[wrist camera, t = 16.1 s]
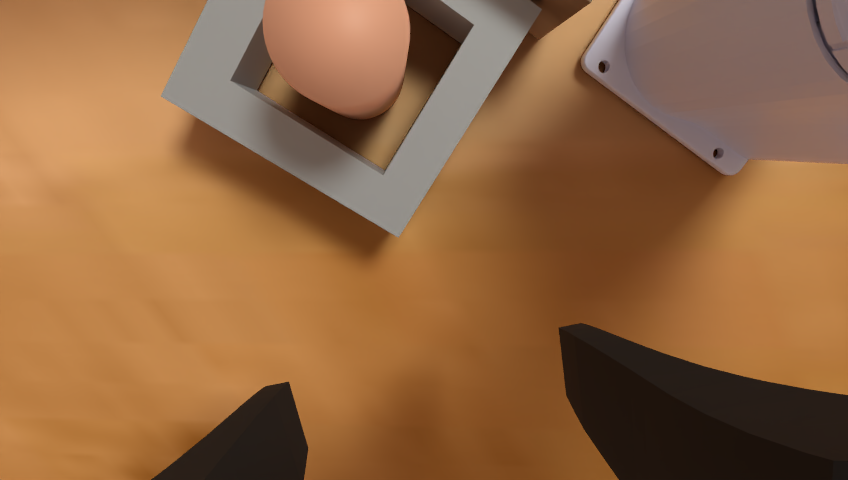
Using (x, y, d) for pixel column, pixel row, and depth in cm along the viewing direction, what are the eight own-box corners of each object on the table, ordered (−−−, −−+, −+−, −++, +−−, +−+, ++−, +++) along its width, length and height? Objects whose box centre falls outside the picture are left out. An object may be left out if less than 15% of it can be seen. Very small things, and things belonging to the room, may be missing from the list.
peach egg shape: (415, 103, 19) (428, 80, 12) (331, 131, 19) (295, 124, 12) (386, 9, 18) (382, -74, 11) (297, 38, 18) (238, -26, 11)
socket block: (518, 31, 18) (541, 9, 15) (397, 223, 20) (398, 237, 17) (313, -122, 16) (295, -179, 13) (198, 104, 18) (160, 96, 15)
